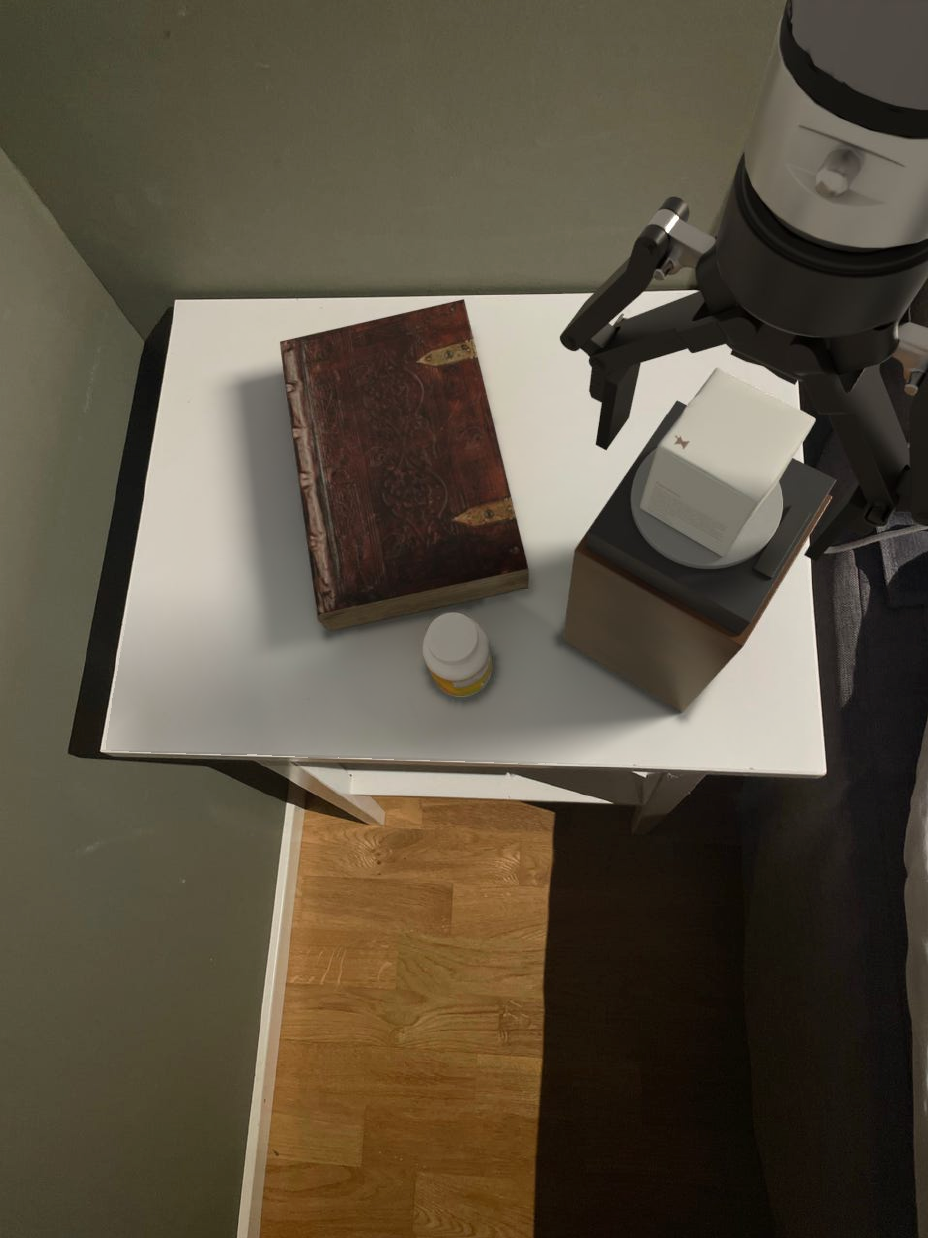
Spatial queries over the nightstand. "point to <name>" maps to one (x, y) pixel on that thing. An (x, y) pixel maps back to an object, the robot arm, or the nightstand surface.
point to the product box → (722, 460)
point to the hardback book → (399, 468)
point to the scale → (691, 568)
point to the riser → (651, 627)
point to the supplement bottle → (457, 654)
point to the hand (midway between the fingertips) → (712, 483)
